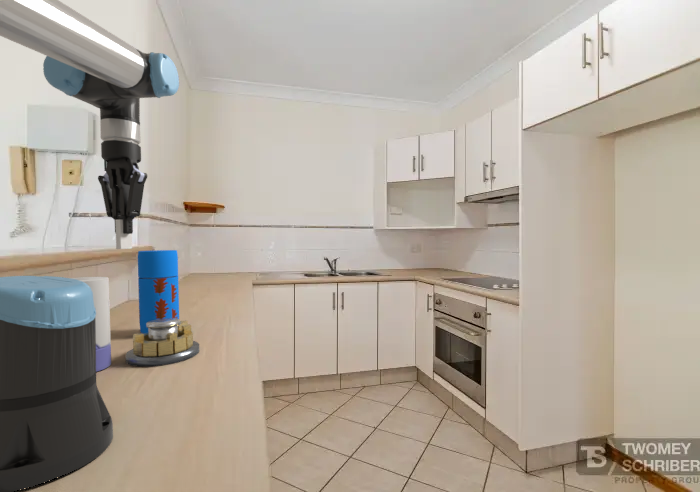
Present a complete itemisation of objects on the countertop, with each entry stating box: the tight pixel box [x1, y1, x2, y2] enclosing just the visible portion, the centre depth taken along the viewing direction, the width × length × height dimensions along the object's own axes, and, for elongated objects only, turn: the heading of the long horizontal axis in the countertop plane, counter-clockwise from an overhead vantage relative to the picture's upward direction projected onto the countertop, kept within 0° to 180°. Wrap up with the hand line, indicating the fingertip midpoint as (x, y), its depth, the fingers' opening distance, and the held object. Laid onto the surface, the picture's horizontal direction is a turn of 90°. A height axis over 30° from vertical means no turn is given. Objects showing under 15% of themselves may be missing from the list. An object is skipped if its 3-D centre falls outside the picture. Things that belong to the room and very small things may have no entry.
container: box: [70, 276, 112, 373], centre depth 79 cm, size 10×10×20 cm
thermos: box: [137, 249, 180, 334], centre depth 110 cm, size 11×11×25 cm
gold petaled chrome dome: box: [132, 320, 194, 357], centre depth 91 cm, size 19×13×4 cm
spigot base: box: [125, 318, 200, 368], centre depth 88 cm, size 17×16×8 cm
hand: (124, 248), depth 81 cm, fingers closed
